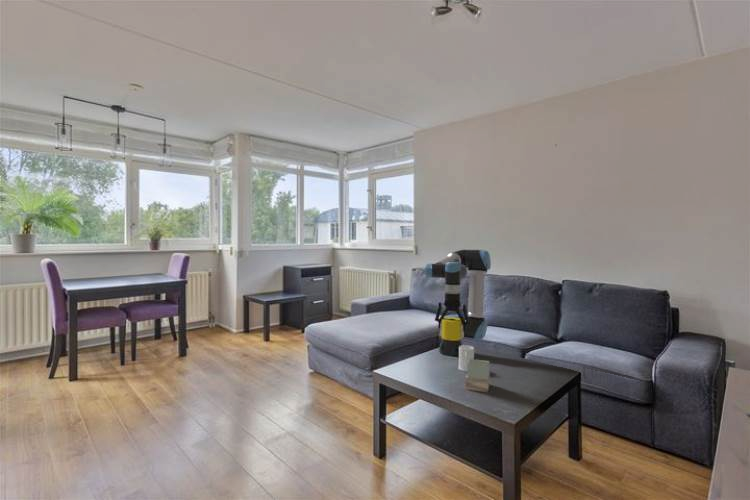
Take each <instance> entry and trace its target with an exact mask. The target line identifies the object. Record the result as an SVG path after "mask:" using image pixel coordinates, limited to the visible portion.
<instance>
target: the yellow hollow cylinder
mask: <svg viewBox="0 0 750 500" xmlns="http://www.w3.org/2000/svg"><path fill="white" fill-rule="evenodd" d="M441 322H442V336H441V339H442V338H443V339H445V340H451V341H457V340H461V341H462V340H463V338H461V325H462V322H461V320H460V318H455V317H445V318H443V319H442V321H441Z"/></svg>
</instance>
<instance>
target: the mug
mask: <svg viewBox="0 0 750 500" xmlns="http://www.w3.org/2000/svg"><path fill="white" fill-rule="evenodd" d="M470 359H475V347H474V346H472V345H466V344H465V345H464V344H462V346H459V356H458V367H457V368H458V370H460V371H462V372H467V365H468V363H469V361H470Z"/></svg>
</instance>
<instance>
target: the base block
mask: <svg viewBox="0 0 750 500" xmlns="http://www.w3.org/2000/svg"><path fill="white" fill-rule="evenodd" d="M490 376H491V374H490V372H489V375H488V378H487V380H484V379H477V378H471V377H467V375H466V376H465V390H468V391H469V390H470V391H476V392H480V393H481V392H482V393H489V388H490V385H491V384H490V381H491V380H490V378H491V377H490Z"/></svg>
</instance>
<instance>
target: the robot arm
mask: <svg viewBox="0 0 750 500" xmlns="http://www.w3.org/2000/svg"><path fill="white" fill-rule="evenodd" d="M491 265H492V263H491V256H490V253H489V251H488V250H483V249H460V250H457V251H456V250H455V251H454V252H451V253H449V254H448V255H447V256H446V257H445V258H443V259H441V260H439V261H437V262H435V263H426V264H425V266H424V275H425V277H426V278H434V279H435V278H436V279H445V280H444V281H445V282H444V292H445V293H444V302H443V301H439V302H438V308H437V311H436V313H435V314H436V315H435V317H434V321H435V322H437V323H438V324H437V325H438V326H437V328H438V329H439V335H440V337H441V342H440V344H439V347H438V349H439V351H438V352H439V353H440V354H442V355H444V356H445V355H446V356H451V357H457V356H458V357H459V346H462V345H463V343H462V339H463V338H464V339H471V340H472V339H473V340H479V341H480V340H483V339H484V338H485V337H486V333H487V330H488V321H487V320H485V316H484V315H483V307H484V306H483V304H484V291H485V289H484V288H485V287H484V286H485V275H486V274H487V273H488V271H489V270H490V269H491V267H492V266H491ZM468 273H469V285H468V286H469V287H468V301H467V304H466V303H461V280H462V279H464V278H466V276H467V275H468ZM443 307H445V309H444V311H443V312H442V309H443ZM460 307H461V309H462V312H463V313H462V312H461V310H460ZM441 312H442V314H441ZM448 312H455V313H456V314H454V313H453V314H448V315H447V313H448ZM440 315H441V316H440ZM463 315H464V316H463ZM445 317H455V318H460V320H461V322H462V325H461V338H462V339H461V340H457V341H451V340H445V339H443V338H442V319H443V318H445Z"/></svg>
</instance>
